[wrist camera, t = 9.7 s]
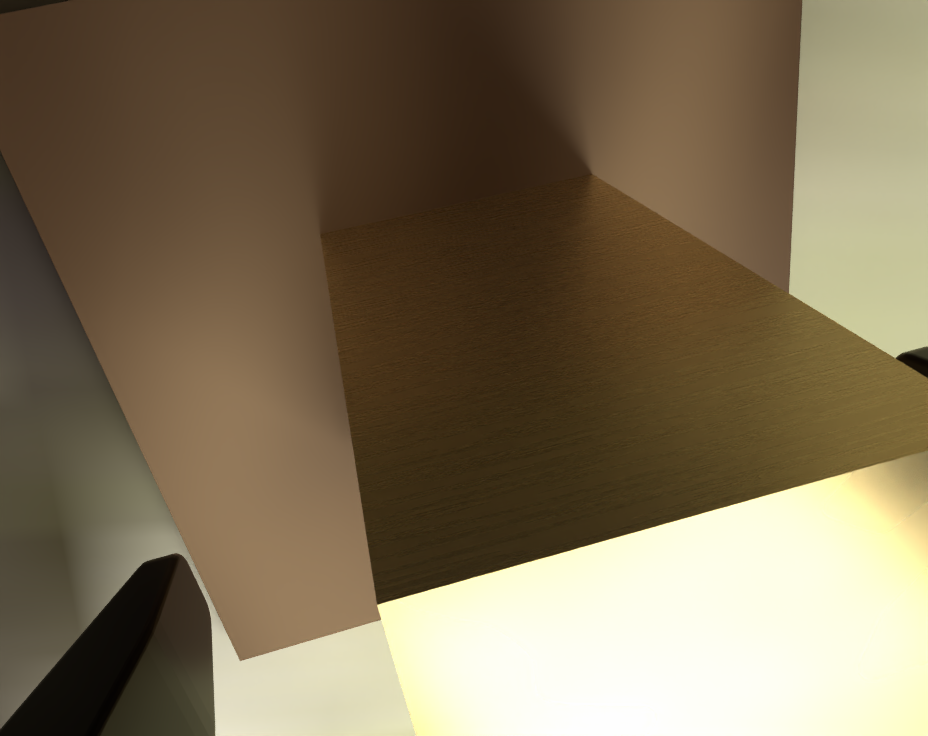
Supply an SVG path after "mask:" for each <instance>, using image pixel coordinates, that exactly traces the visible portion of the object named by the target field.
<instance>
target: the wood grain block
mask: <svg viewBox="0 0 928 736" xmlns="http://www.w3.org/2000/svg"><path fill="white" fill-rule="evenodd" d="M320 238H321V244H322V251H323V257H324V264H325V270H326V277H327V283H328V290H329V296H330V303H331V309H332V316H333V322H334V329H335V335H336V342H337V348H338V355H339V361H340V368H341V374H342V381H343V387H344V394H345V400H346V407H347V413H348V420H349V426H350V433H351V439H352V446H353V452H354V459H355V465H356V472H357V478H358V485H359V491H360V498H361V504H362V511H363V517H364V523H365V530H366V536H367V543H368V549H369V556H370V562H371V569H372V575H373V582H374V588H375V595H376V601H377V606H378V610H379V613H380V616H381V620H382V623H383V626H384V630H385V633H386V636H387V640H388V643H389V646H390V650H391V653H392V656H393V660H394V663H395V666H396V670H397V673H398V676H399V680H400V683H401V686H402V690H403V693H404V696H405V700H406V703H407V707H408V710H409V713H410V717H411V720H412V723H413V727H414V730H415V733H416V736H928V378H927V377H925V376H923V375H922V374H920V373H918V372H917V371H915V370H913V369H912V368H910V367H909V366H907V365H905V364H904V363H902V362H900V361H899V360H897V359H895V358H894V357H892V356H891V355H889V354H887V353H886V352H884V351H882V350H881V349H879V348H877V347H876V346H874V345H872V344H871V343H869V342H868V341H866V340H864V339H863V338H861V337H859V336H858V335H856V334H854V333H853V332H851V331H849V330H848V329H846V328H845V327H843V326H841V325H840V324H838V323H836V322H835V321H833V320H831V319H830V318H828V317H826V316H825V315H823V314H822V313H820V312H818V311H817V310H815V309H813V308H812V307H810V306H808V305H807V304H805V303H803V302H802V301H800V300H799V299H797V298H795V297H794V296H792V295H790V294H789V293H787V292H785V291H784V290H782V289H780V288H779V287H777V286H776V285H774V284H772V283H771V282H769V281H767V280H766V279H764V278H762V277H761V276H759V275H757V274H756V273H754V272H753V271H751V270H749V269H748V268H746V267H744V266H743V265H741V264H739V263H738V262H736V261H734V260H733V259H731V258H730V257H728V256H726V255H725V254H723V253H721V252H720V251H718V250H716V249H715V248H713V247H712V246H710V245H708V244H707V243H705V242H703V241H702V240H700V239H698V238H697V237H695V236H693V235H692V234H690V233H689V232H687V231H685V230H684V229H682V228H680V227H679V226H677V225H675V224H674V223H672V222H670V221H669V220H667V219H666V218H664V217H662V216H661V215H659V214H657V213H656V212H654V211H652V210H651V209H649V208H647V207H646V206H644V205H643V204H641V203H639V202H638V201H636V200H634V199H633V198H631V197H629V196H628V195H626V194H624V193H623V192H621V191H620V190H618V189H616V188H615V187H613V186H611V185H610V184H608V183H606V182H605V181H603V180H601V179H600V178H598V177H597V176H595V175H593V174H590V175H585V176H581V177H576V178H572V179H567V180H563V181H558V182H554V183H549V184H545V185H540V186H536V187H531V188H527V189H522V190H518V191H513V192H509V193H504V194H499V195H495V196H490V197H486V198H481V199H477V200H472V201H468V202H463V203H459V204H454V205H450V206H445V207H441V208H436V209H432V210H427V211H423V212H418V213H413V214H409V215H404V216H400V217H395V218H391V219H386V220H382V221H377V222H373V223H368V224H364V225H359V226H355V227H350V228H346V229H341V230H337V231H332V232H327V233H323V234H320Z"/></svg>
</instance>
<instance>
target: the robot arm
mask: <svg viewBox="0 0 928 736" xmlns="http://www.w3.org/2000/svg"><path fill="white" fill-rule="evenodd" d="M896 359H897V360H899V361H900V362H902V363H904V364H905V365H907V366H909V367H910V368H912V369H913V370H915V371H917V372H918V373H920V374H922V375H923V376H925V377H927V378H928V347H923V348H919V349H915V350H912V351H908V352H904V353H902V354H900V355H899V356H897V357H896ZM0 736H215V711H214V683H213V656H212V629H211V617H210V612H209V608H208V605H207V602H206V600H205V598H204V596H203V594H202V592H201V589H200V587H199V585H198V583H197V581H196V579H195V577H194V575H193V573H192V571H191V569H190V566H189V564H188V562H187V561H186V559H185V558H184V557H183V556H182V555H180V554H177V553H175V554H171V555H167V556H164V557H160V558H156V559H153V560H149V561H146V562H144V563H143V564H142V565H141V566H140V567H139V568H138V569H137V570H136V571H135V572H134V574H133V575H132V576H131V577H130V578H129V579H128V581H127V582H126V583H125V584H124V585H123V586H122V588H121V589H120V590H119V591H118V592H117V594H116V595H115V596H114V597H113V598H112V599H111V601H110V602H109V603H108V604H107V605H106V606H105V608H104V609H103V610H102V611H101V612H100V613H99V615H98V616H97V617H96V618H95V619H94V620H93V622H92V623H91V624H90V625H89V626H88V627H87V629H86V630H85V631H84V632H83V633H82V634H81V636H80V637H79V638H78V639H77V640H76V641H75V643H74V644H73V645H72V646H71V647H70V648H69V650H68V651H67V652H66V653H65V654H64V655H63V657H62V658H61V659H60V660H59V661H58V662H57V664H56V665H55V666H54V667H53V668H52V669H51V671H50V672H49V673H48V674H47V675H46V676H45V678H44V679H43V680H42V681H41V682H40V683H39V685H38V686H37V687H36V688H35V689H34V690H33V692H32V693H31V694H30V695H29V696H28V698H27V699H26V700H25V701H24V702H23V703H22V705H21V706H20V707H19V708H18V709H17V710H16V712H15V713H14V714H13V715H12V716H11V717H10V719H9V720H8V721H7V722H6V723H5V724H4V726H3V727H2V728H1V729H0Z"/></svg>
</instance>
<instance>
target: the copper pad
mask: <svg viewBox="0 0 928 736" xmlns="http://www.w3.org/2000/svg"><path fill="white" fill-rule="evenodd" d="M801 15H802V0H70V1H65V2H60V3H55V4H50V5H45V6H39V7H34V8H29V9H24V10H19V11H14V12H8V13H3V14H0V151H1V153H2V155H3V157H4V160H5V162H6V164H7V166H8V168H9V170H10V172H11V174H12V177H13V179H14V181H15V183H16V185H17V187H18V189H19V191H20V194H21V196H22V198H23V200H24V202H25V204H26V206H27V208H28V211H29V213H30V215H31V217H32V219H33V221H34V223H35V225H36V228H37V230H38V232H39V234H40V236H41V238H42V240H43V243H44V245H45V247H46V249H47V251H48V253H49V255H50V257H51V260H52V262H53V264H54V266H55V268H56V270H57V272H58V274H59V277H60V279H61V281H62V283H63V285H64V287H65V289H66V291H67V294H68V296H69V298H70V300H71V302H72V304H73V306H74V308H75V311H76V313H77V315H78V317H79V319H80V321H81V323H82V325H83V328H84V330H85V332H86V334H87V336H88V338H89V340H90V343H91V345H92V347H93V349H94V351H95V353H96V355H97V357H98V360H99V362H100V364H101V366H102V368H103V370H104V372H105V374H106V377H107V379H108V381H109V383H110V385H111V387H112V389H113V391H114V394H115V396H116V398H117V400H118V402H119V404H120V406H121V408H122V411H123V413H124V415H125V417H126V419H127V421H128V423H129V426H130V428H131V430H132V432H133V434H134V436H135V438H136V440H137V443H138V445H139V447H140V449H141V451H142V453H143V455H144V457H145V460H146V462H147V464H148V466H149V468H150V470H151V472H152V474H153V477H154V479H155V481H156V483H157V485H158V487H159V489H160V491H161V494H162V496H163V498H164V500H165V502H166V504H167V506H168V508H169V511H170V513H171V515H172V517H173V519H174V521H175V523H176V526H177V528H178V530H179V532H180V534H181V536H182V538H183V540H184V543H185V545H186V547H187V549H188V551H189V553H190V555H191V557H192V560H193V562H194V564H195V566H196V568H197V570H198V572H199V574H200V577H201V579H202V581H203V583H204V585H205V587H206V589H207V591H208V594H209V596H210V598H211V600H212V602H213V604H214V606H215V608H216V611H217V613H218V615H219V617H220V619H221V621H222V623H223V626H224V628H225V630H226V632H227V634H228V636H229V638H230V640H231V643H232V645H233V647H234V649H235V651H236V653H237V655H238V657H239V660H240V661H242V660H245V659H249V658H252V657H255V656H259V655H262V654H266V653H269V652H272V651H276V650H279V649H283V648H286V647H289V646H293V645H296V644H300V643H303V642H306V641H310V640H313V639H317V638H320V637H324V636H327V635H330V634H334V633H337V632H341V631H344V630H347V629H351V628H354V627H358V626H361V625H364V624H368V623H371V622H375V621H378V620H381V616H380V613H379V610H378V606H377V601H376V595H375V588H374V582H373V575H372V569H371V562H370V556H369V549H368V543H367V536H366V530H365V523H364V517H363V511H362V504H361V498H360V491H359V485H358V478H357V472H356V465H355V459H354V452H353V446H352V439H351V433H350V426H349V420H348V413H347V407H346V400H345V394H344V387H343V381H342V374H341V368H340V361H339V355H338V348H337V342H336V335H335V329H334V322H333V316H332V309H331V303H330V296H329V290H328V283H327V277H326V270H325V264H324V257H323V251H322V244H321V238H320V234H323V233H327V232H332V231H337V230H341V229H346V228H350V227H355V226H359V225H364V224H368V223H373V222H377V221H382V220H386V219H391V218H395V217H400V216H404V215H409V214H413V213H418V212H423V211H427V210H432V209H436V208H441V207H445V206H450V205H454V204H459V203H463V202H468V201H472V200H477V199H481V198H486V197H490V196H495V195H499V194H504V193H509V192H513V191H518V190H522V189H527V188H531V187H536V186H540V185H545V184H549V183H554V182H558V181H563V180H567V179H572V178H576V177H581V176H585V175H590V174H593V175H595V176H597V177H598V178H600V179H601V180H603V181H605V182H606V183H608V184H610V185H611V186H613V187H615V188H616V189H618V190H620V191H621V192H623V193H624V194H626V195H628V196H629V197H631V198H633V199H634V200H636V201H638V202H639V203H641V204H643V205H644V206H646V207H647V208H649V209H651V210H652V211H654V212H656V213H657V214H659V215H661V216H662V217H664V218H666V219H667V220H669V221H670V222H672V223H674V224H675V225H677V226H679V227H680V228H682V229H684V230H685V231H687V232H689V233H690V234H692V235H693V236H695V237H697V238H698V239H700V240H702V241H703V242H705V243H707V244H708V245H710V246H712V247H713V248H715V249H716V250H718V251H720V252H721V253H723V254H725V255H726V256H728V257H730V258H731V259H733V260H734V261H736V262H738V263H739V264H741V265H743V266H744V267H746V268H748V269H749V270H751V271H753V272H754V273H756V274H757V275H759V276H761V277H762V278H764V279H766V280H767V281H769V282H771V283H772V284H774V285H776V286H777V287H779V288H780V289H782V290H784V291H785V292H787V293H789V278H790V256H791V234H792V212H793V190H794V168H795V147H796V125H797V103H798V81H799V59H800V37H801Z"/></svg>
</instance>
